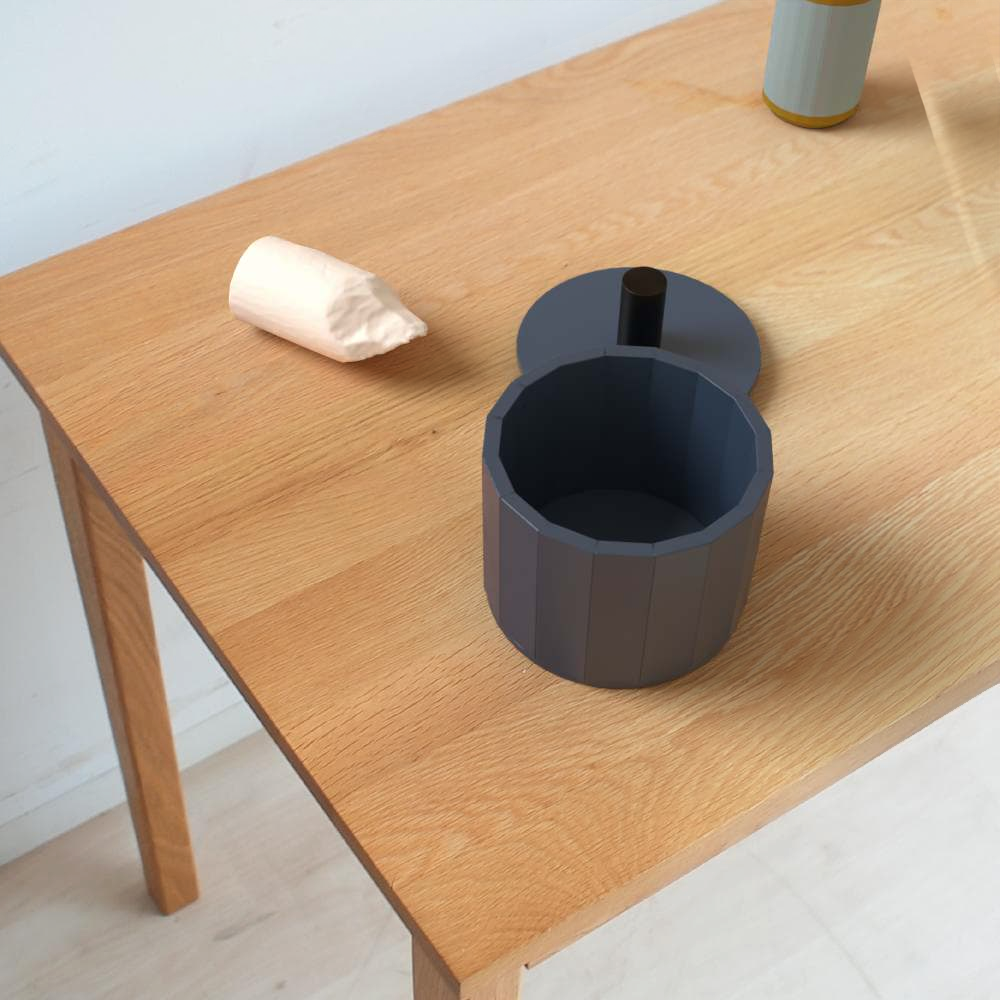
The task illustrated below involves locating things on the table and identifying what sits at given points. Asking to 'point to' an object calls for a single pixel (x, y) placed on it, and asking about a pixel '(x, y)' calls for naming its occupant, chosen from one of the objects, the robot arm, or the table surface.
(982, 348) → the table surface
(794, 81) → the bottle
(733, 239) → the table surface
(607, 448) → the pot
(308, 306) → the broken white chalk
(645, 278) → the pot lid
